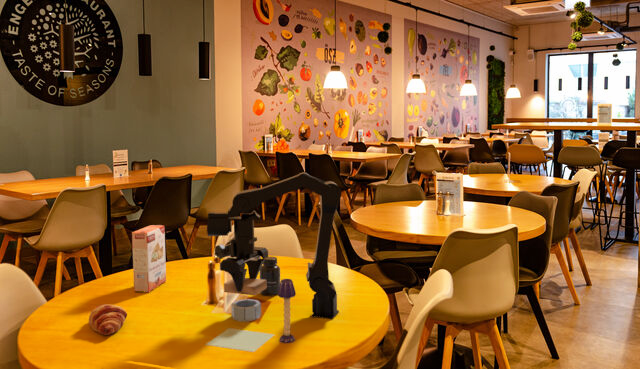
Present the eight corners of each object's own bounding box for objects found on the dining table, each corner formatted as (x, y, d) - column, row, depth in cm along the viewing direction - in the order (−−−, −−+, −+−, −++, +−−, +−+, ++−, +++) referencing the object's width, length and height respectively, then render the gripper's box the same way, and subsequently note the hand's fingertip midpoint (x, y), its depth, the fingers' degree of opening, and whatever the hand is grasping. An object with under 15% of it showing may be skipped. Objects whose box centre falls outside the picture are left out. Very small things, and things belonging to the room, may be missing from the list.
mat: (274, 336, 151) (274, 334, 151) (253, 353, 139) (253, 351, 139) (229, 329, 156) (229, 328, 156) (205, 346, 144) (205, 344, 144)
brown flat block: (266, 288, 166) (266, 279, 165) (255, 295, 159) (254, 286, 158) (237, 284, 169) (236, 276, 169) (224, 292, 162) (223, 283, 162)
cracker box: (150, 293, 190) (147, 232, 188) (133, 292, 191) (130, 232, 189) (167, 281, 204) (165, 224, 201) (152, 280, 205) (149, 224, 202)
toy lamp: (300, 341, 147) (299, 279, 145) (287, 347, 143) (286, 283, 141) (287, 337, 150) (286, 276, 148) (274, 342, 146) (273, 280, 144)
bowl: (264, 315, 167) (264, 300, 167) (252, 324, 160) (251, 309, 159) (241, 312, 170) (240, 298, 170) (227, 321, 163) (227, 306, 162)
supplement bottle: (271, 297, 184) (270, 261, 182) (255, 293, 188) (254, 258, 187) (284, 292, 189) (284, 257, 188) (269, 288, 193) (268, 254, 192)
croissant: (96, 327, 169) (81, 306, 167) (127, 307, 172) (112, 286, 170) (99, 351, 150) (83, 328, 148) (133, 329, 153) (117, 305, 151)
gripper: (235, 227, 174) (237, 276, 175) (202, 239, 156) (204, 294, 158) (268, 229, 170) (269, 279, 171) (237, 242, 152) (239, 298, 154)
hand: (245, 287), depth 164 cm, fingers closed on brown flat block, 7 cm apart
